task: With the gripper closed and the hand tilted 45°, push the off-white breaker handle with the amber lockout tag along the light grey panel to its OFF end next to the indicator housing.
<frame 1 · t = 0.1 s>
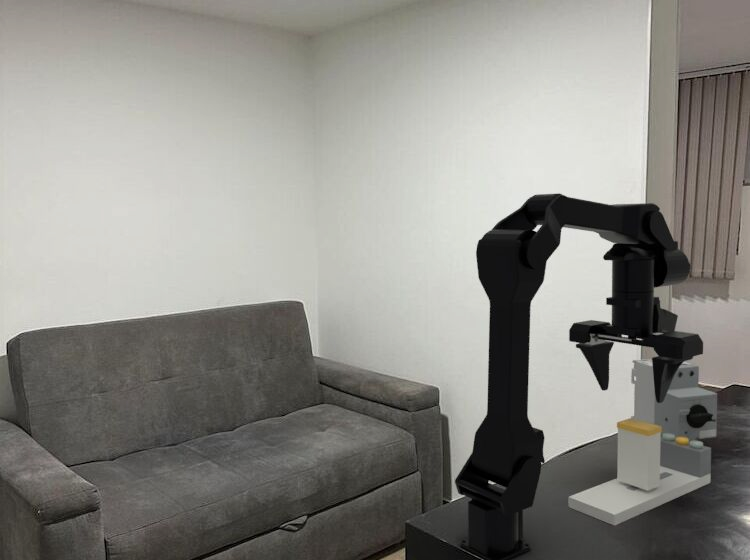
hand: (631, 396, 102), 15 cm above the table, tool pointing down, fingers open, 9 cm apart
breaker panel: (642, 494, 103), on the table
circuit breaker: (674, 452, 121), on the table
breaker handle: (638, 453, 101), point 6 cm above the table, slide at 0.0 cm
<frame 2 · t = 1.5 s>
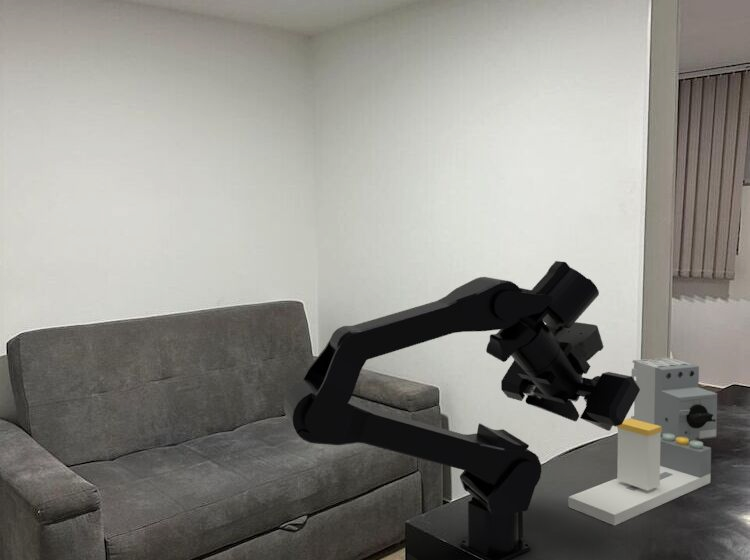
hand: (593, 423, 95), 13 cm above the table, tool tilted 45°, fingers open, 5 cm apart
nothing on the table moved.
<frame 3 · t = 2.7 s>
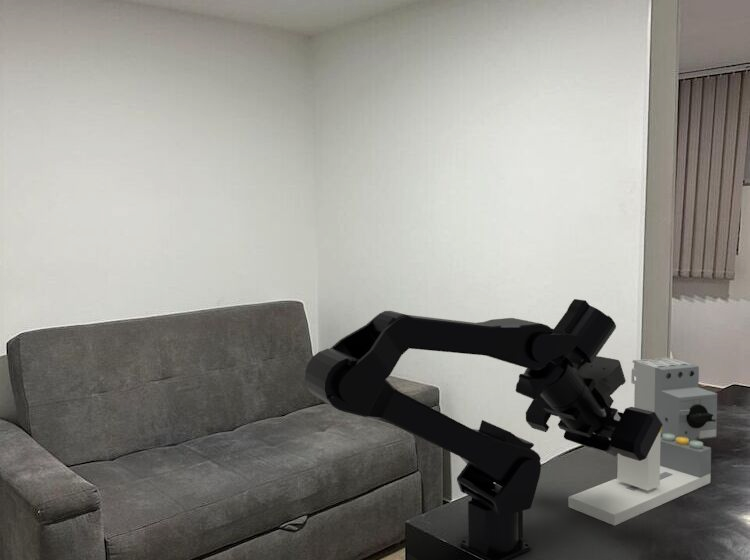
hand: (615, 453, 98), 8 cm above the table, tool tilted 45°, fingers closed
nothing on the table moved.
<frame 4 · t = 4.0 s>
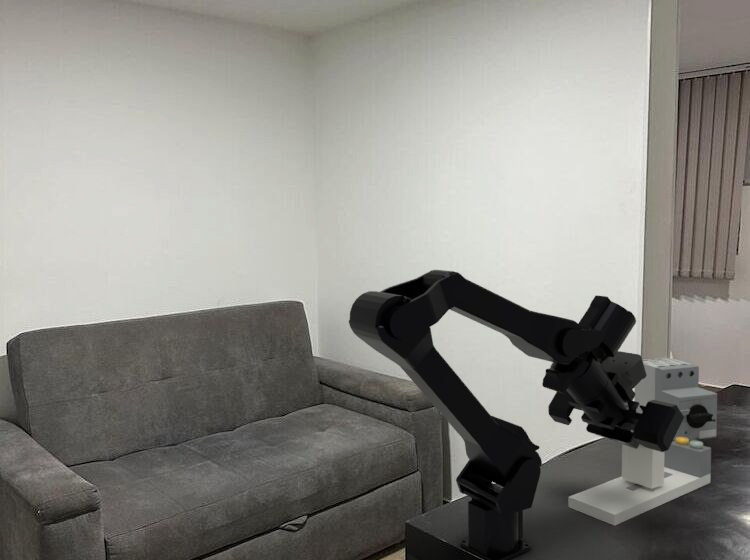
hand: (636, 445, 101), 8 cm above the table, tool tilted 45°, fingers closed, pressing on breaker handle
breaker handle: (642, 452, 102), point 6 cm above the table, slide at 1.1 cm, touching gripper
everything else where it was.
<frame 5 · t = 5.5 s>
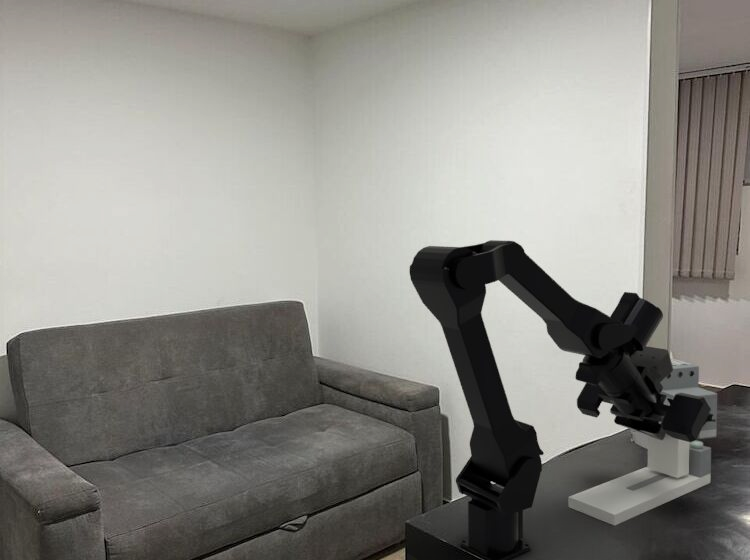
hand: (661, 437, 105), 8 cm above the table, tool tilted 45°, fingers closed, pressing on breaker handle
breaker handle: (668, 443, 106), point 6 cm above the table, slide at 7.7 cm, touching gripper
everything else where it was.
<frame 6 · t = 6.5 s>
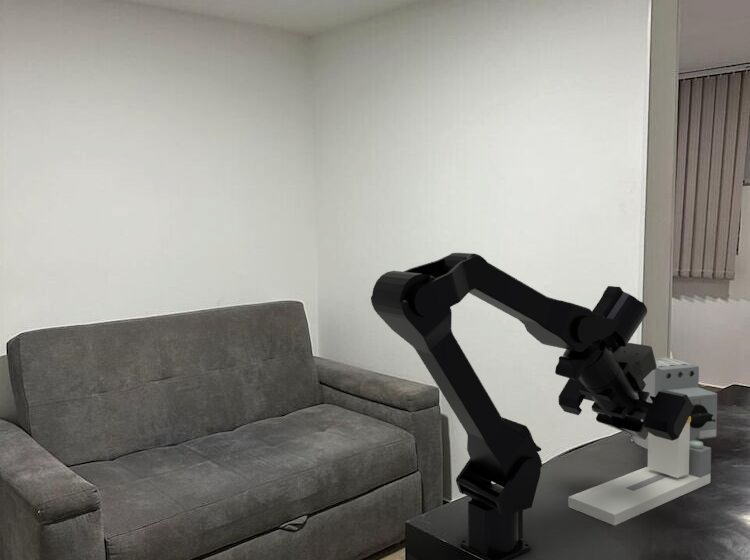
hand: (644, 436, 102), 9 cm above the table, tool tilted 45°, fingers closed
breaker handle: (668, 442, 106), point 6 cm above the table, slide at 7.7 cm
everything else where it was.
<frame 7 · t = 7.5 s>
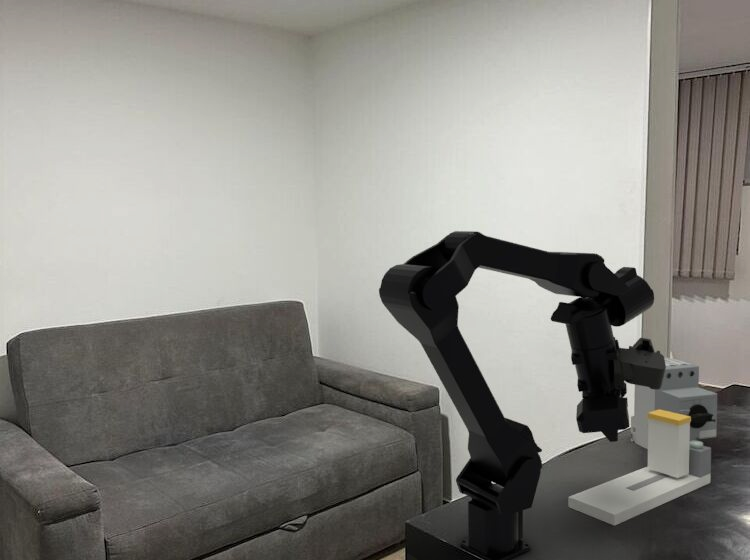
hand: (613, 440, 98), 10 cm above the table, tool tilted 20°, fingers closed
nothing on the table moved.
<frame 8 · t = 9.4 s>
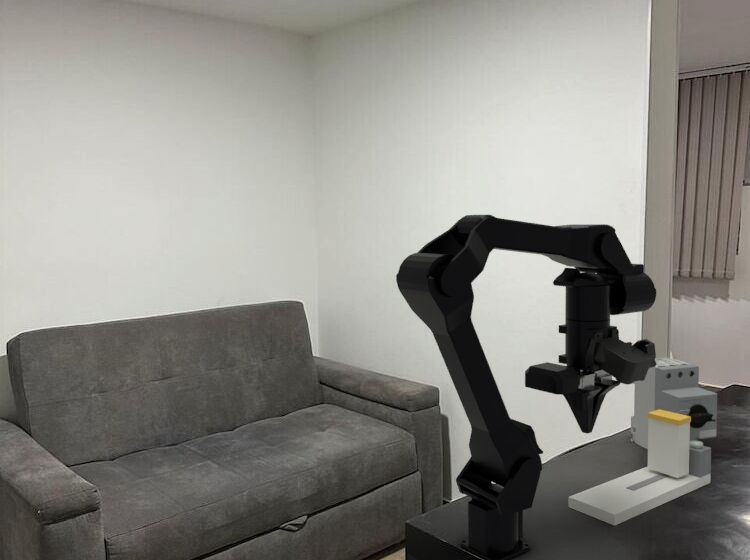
hand: (586, 432, 94), 12 cm above the table, tool pointing down, fingers closed
nothing on the table moved.
at the end: breaker handle slide at 7.7 cm; circuit breaker moved 0.2 cm from its start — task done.
